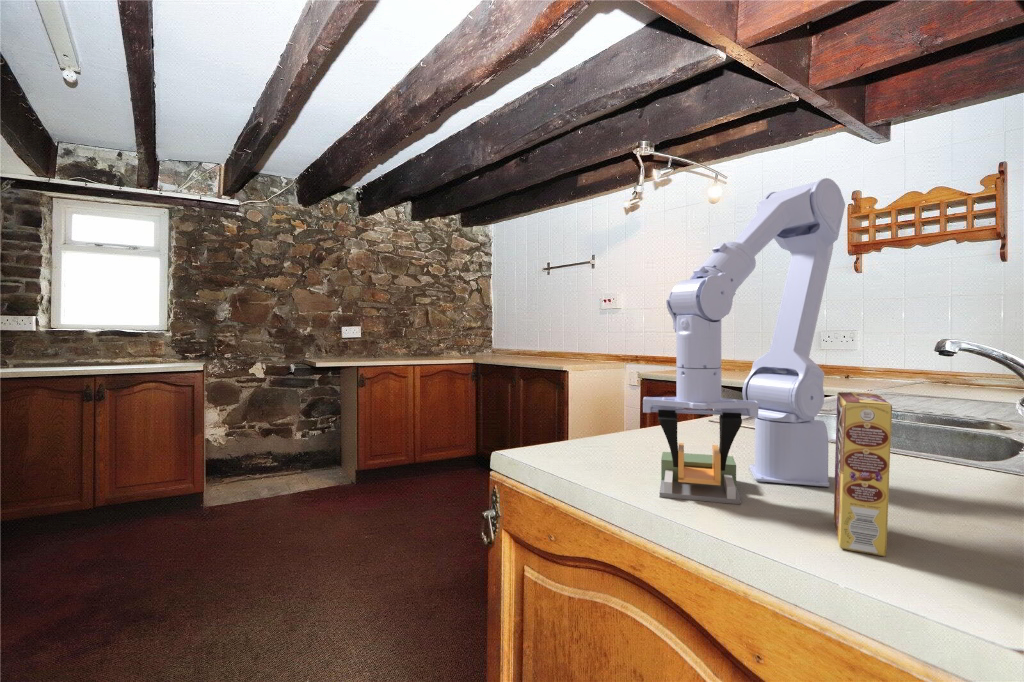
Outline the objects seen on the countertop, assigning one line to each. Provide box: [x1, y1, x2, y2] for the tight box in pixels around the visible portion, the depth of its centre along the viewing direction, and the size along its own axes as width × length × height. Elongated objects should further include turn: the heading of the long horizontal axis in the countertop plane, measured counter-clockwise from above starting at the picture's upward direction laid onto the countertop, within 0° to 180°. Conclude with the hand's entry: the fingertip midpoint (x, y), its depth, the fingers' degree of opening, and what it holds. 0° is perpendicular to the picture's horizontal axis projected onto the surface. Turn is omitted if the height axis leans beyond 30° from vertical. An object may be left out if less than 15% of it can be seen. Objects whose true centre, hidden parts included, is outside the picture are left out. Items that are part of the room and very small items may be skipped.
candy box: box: [833, 391, 893, 557], centre depth 55 cm, size 9×4×15 cm, turn 152°
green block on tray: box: [659, 451, 742, 505], centre depth 73 cm, size 10×11×4 cm
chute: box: [678, 442, 721, 485], centre depth 70 cm, size 5×6×4 cm
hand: (698, 467), depth 70 cm, fingers closed on chute, 5 cm apart
